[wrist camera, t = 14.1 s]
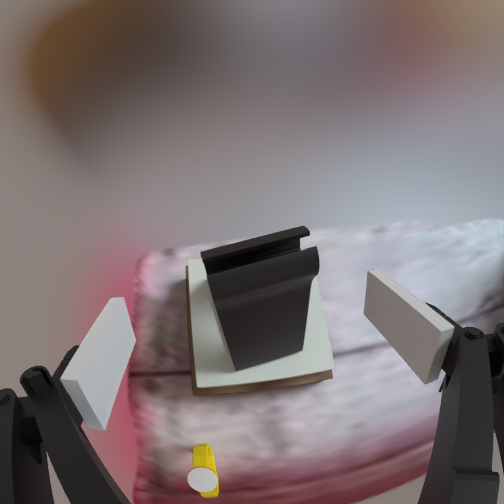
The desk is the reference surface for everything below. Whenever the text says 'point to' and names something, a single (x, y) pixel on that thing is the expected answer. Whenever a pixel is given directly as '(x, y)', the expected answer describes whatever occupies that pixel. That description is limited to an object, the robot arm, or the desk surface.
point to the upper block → (217, 353)
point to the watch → (204, 472)
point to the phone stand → (262, 294)
